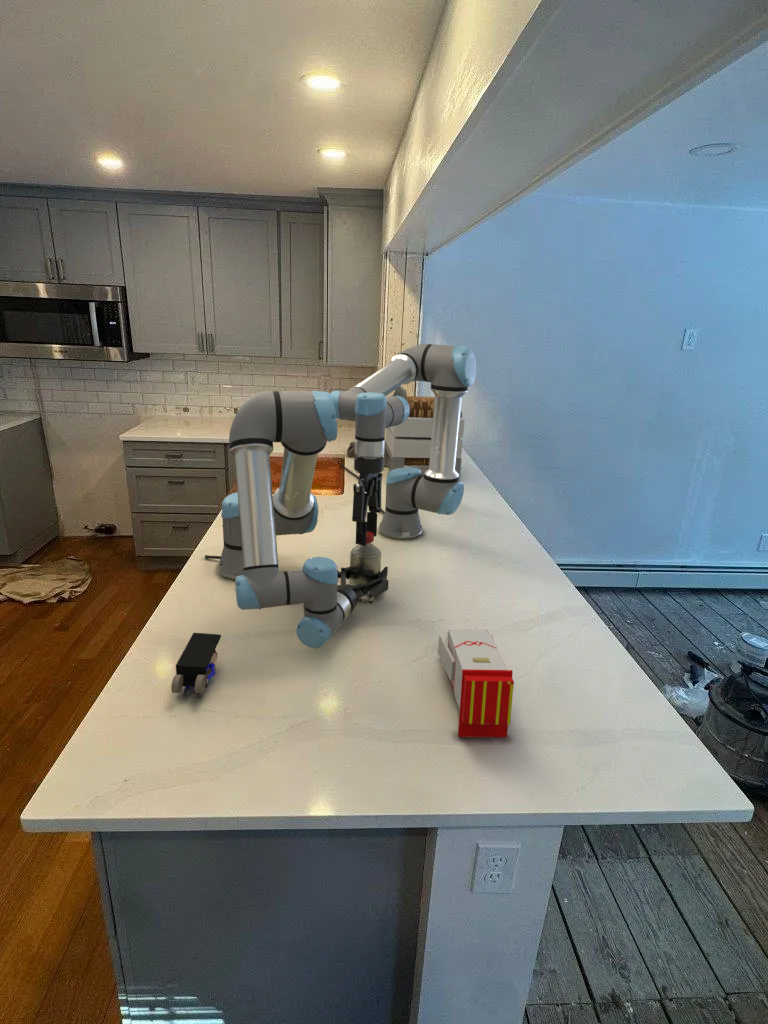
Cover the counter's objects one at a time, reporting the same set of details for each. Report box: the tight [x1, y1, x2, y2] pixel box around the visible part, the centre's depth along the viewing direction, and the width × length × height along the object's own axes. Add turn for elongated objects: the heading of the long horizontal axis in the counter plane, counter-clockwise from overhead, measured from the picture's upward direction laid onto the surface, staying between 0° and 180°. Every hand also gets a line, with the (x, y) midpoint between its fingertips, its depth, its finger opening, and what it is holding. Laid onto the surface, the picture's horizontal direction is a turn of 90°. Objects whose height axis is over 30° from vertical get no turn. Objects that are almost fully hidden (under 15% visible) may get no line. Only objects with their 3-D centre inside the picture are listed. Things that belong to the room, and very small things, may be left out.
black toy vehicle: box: [170, 632, 222, 699], centre depth 117 cm, size 7×8×15 cm
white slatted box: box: [383, 385, 465, 482], centre depth 268 cm, size 34×33×41 cm
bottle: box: [349, 543, 382, 603], centre depth 154 cm, size 8×8×18 cm
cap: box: [366, 531, 375, 544], centre depth 151 cm, size 4×4×2 cm
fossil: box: [346, 441, 356, 458], centre depth 305 cm, size 22×10×15 cm
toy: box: [437, 628, 515, 738], centre depth 117 cm, size 12×13×30 cm
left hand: (371, 568), depth 159 cm, fingers closed on bottle, 8 cm apart
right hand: (366, 539), depth 151 cm, fingers open, 6 cm apart
